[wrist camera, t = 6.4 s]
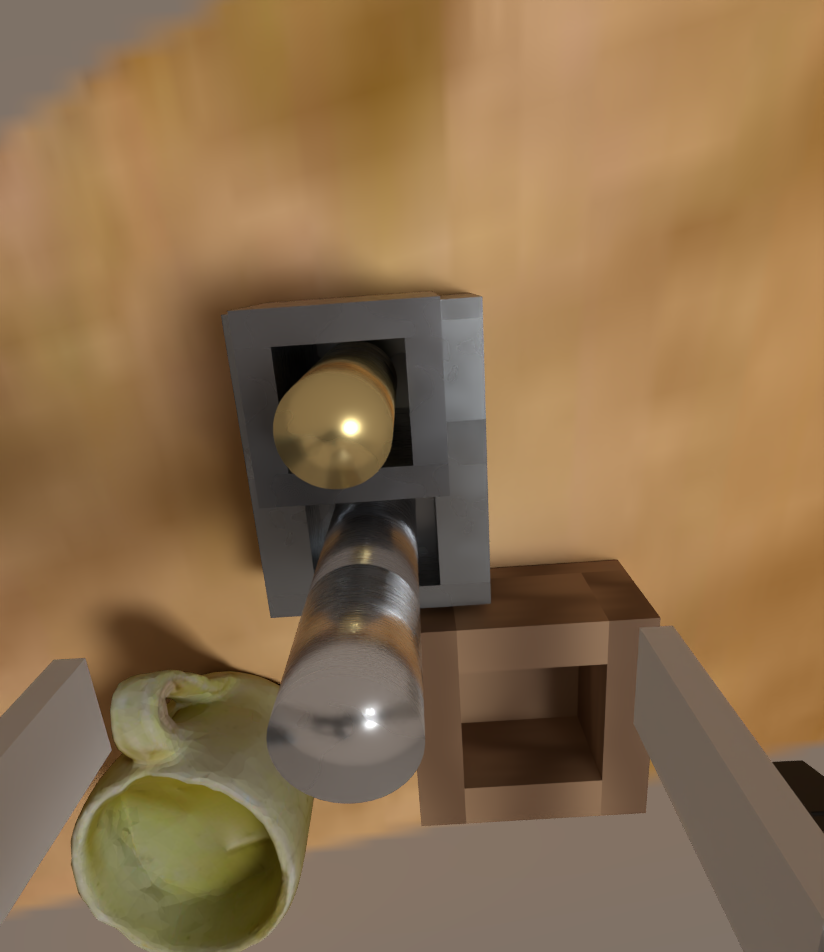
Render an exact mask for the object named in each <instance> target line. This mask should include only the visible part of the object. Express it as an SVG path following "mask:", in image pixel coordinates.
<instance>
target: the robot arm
mask: <svg viewBox="0 0 824 952" xmlns="http://www.w3.org/2000/svg"><path fill="white" fill-rule="evenodd" d="M633 724H634V726H635V728H636V730H637V732H638V734H639V736H640V738H641V740H642V742H643V744H644V747H645V749H646V751H647V753H648V755H649V757H650V759H651V761H652V763H653V765H654V767H655V769H656V771H657V773H658V776H659V778H660V780H661V782H662V784H663V786H664V788H665V790H666V792H667V794H668V796H669V798H670V800H671V802H672V805H673V806H674V809H675V811H676V813H677V815H678V817H679V819H680V821H681V823H682V825H683V827H684V829H685V831H686V833H687V836H688V837H689V840H690V842H691V844H692V846H693V848H694V850H695V852H696V854H697V856H698V858H699V860H700V862H701V864H702V867H703V869H704V871H705V873H706V875H707V877H708V879H709V881H710V883H711V885H712V887H713V889H714V892H715V894H716V896H717V898H718V900H719V902H720V904H721V906H722V908H723V910H724V912H725V914H726V916H727V919H728V920H729V923H730V925H731V927H732V929H733V931H734V933H735V935H736V937H737V939H738V941H739V943H740V945H741V948H742V949H743V952H824V776H823V775H821V774H820V773H818V772H817V771H816V770H815V769H813V768H812V767H811V766H809V765H808V764H806V763H805V762H804V761H782V762H771V760H770V759H769V757H768V756H767V755H766V753H765V752H764V751H763V749H762V748H761V746H760V745H759V744H758V742H757V741H756V740H755V738H754V737H753V735H752V734H751V733H750V731H749V730H748V729H747V727H746V726H745V724H744V723H743V722H742V720H741V719H740V718H739V716H738V715H737V713H736V712H735V711H734V709H733V708H732V707H731V705H730V704H729V702H728V701H727V700H726V698H725V697H724V696H723V694H722V693H721V691H720V690H719V689H718V687H717V686H716V685H715V683H714V682H713V680H712V679H711V678H710V676H709V675H708V674H707V672H706V671H705V669H704V668H703V667H702V665H701V664H700V662H699V661H698V660H697V658H696V657H695V656H694V654H693V653H692V651H691V650H690V649H689V647H688V646H687V645H686V643H685V642H684V640H683V639H682V638H681V636H680V635H679V634H678V632H677V631H676V629H675V628H674V627H673V626H661V627H643V628H640V631H639V646H638V661H637V677H636V692H635V707H634V723H633ZM111 750H112V749H111V746H110V742H109V739H108V735H107V732H106V728H105V725H104V721H103V718H102V715H101V711H100V708H99V704H98V701H97V697H96V694H95V690H94V687H93V683H92V680H91V676H90V673H89V670H88V666H87V663H86V659H85V658H79V659H60V660H53V661H52V662H51V663H50V664H49V665H48V667H47V668H46V669H45V670H44V671H43V672H42V673H41V674H40V675H39V676H38V677H37V678H36V679H35V681H34V682H33V683H32V684H31V685H30V686H29V687H28V688H27V689H26V690H25V691H24V692H23V693H22V695H21V696H20V697H19V698H18V699H17V700H16V701H15V702H14V703H13V704H12V705H11V706H10V707H9V709H8V710H7V711H6V712H5V713H4V714H3V715H2V716H1V717H0V926H1V924H2V923H3V921H4V920H5V918H6V916H7V915H8V913H9V912H10V910H11V909H12V907H13V905H14V904H15V902H16V901H17V899H18V897H19V896H20V894H21V893H22V891H23V890H24V888H25V886H26V885H27V883H28V882H29V880H30V878H31V877H32V875H33V874H34V872H35V871H36V869H37V867H38V866H39V864H40V863H41V861H42V860H43V858H44V856H45V855H46V853H47V852H48V850H49V848H50V847H51V845H52V844H53V842H54V841H55V839H56V837H57V836H58V834H59V833H60V831H61V830H62V828H63V826H64V825H65V823H66V822H67V820H68V818H69V817H70V815H71V814H72V812H73V811H74V809H75V807H76V806H77V804H78V803H79V801H80V799H81V798H82V796H83V795H84V793H85V792H86V790H87V788H88V787H89V785H90V784H91V782H92V781H93V779H94V777H95V776H96V774H97V773H98V771H99V769H100V768H101V766H102V765H103V763H104V762H105V760H106V758H107V757H108V755H109V754H110V752H111Z"/></svg>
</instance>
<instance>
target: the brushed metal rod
mask: <svg viewBox="0 0 824 952" xmlns="http://www.w3.org/2000/svg"><path fill="white" fill-rule="evenodd" d="M266 741H267V749H268V752H269V756H270V758H271V760H272V763H273V764H274V766H275V768H276V769H277V771H278V772H279V773H280V774H281V776H282V777H283V778H284V779H285V780H286V781H287V782H288V783H290V784H291V785H292V786H294V787H295V788H296V789H298V790H300V791H301V792H303V793H305V794H307V795H309V796H312V797H314V798H317V799H321V800H324V801H329V802H334V803H361V802H367V801H372V800H375V799H378V798H381V797H384V796H386V795H388V794H390V793H392V792H394V791H395V790H397V789H399V788H400V787H401V786H402V785H404V784H405V783H406V782H407V781H408V780H409V779H410V778H411V777H412V776H413V774H414V773H415V772H416V770H417V769H418V767H419V765H420V763H421V760H422V757H423V754H424V749H425V723H424V698H423V673H422V649H421V624H420V599H419V574H418V549H417V525H416V501H415V498H411V499H396V500H381V501H366V502H351V503H336V505H335V508H334V511H333V515H332V518H331V521H330V524H329V528H328V531H327V534H326V537H325V541H324V544H323V547H322V550H321V554H320V557H319V560H318V563H317V567H316V570H315V573H314V576H313V580H312V583H311V586H310V589H309V593H308V596H307V599H306V602H305V606H304V609H303V612H302V616H301V619H300V622H299V625H298V629H297V632H296V635H295V638H294V642H293V645H292V648H291V651H290V655H289V658H288V661H287V664H286V668H285V671H284V674H283V677H282V681H281V684H280V687H279V690H278V694H277V697H276V700H275V703H274V707H273V710H272V713H271V716H270V720H269V723H268V728H267V736H266Z"/></svg>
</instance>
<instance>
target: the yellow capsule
mask: <svg viewBox="0 0 824 952" xmlns="http://www.w3.org/2000/svg"><path fill="white" fill-rule="evenodd" d="M396 392H397V375H396V371H395V368H394V365H393V363H392V362H391V360H390V358H389V357H388V356H387V355H386V354H385V353H384V352H383V351H382V350H381V349H380V348H378V347H377V346H375V345H373V344H371V343H368V342H364V341H350V342H343V343H341V344H338V345H336V346H335V347H333V348H332V349H330V350H329V351H328V352H327V353H326V354H325V355H324V356H323V357H322V358H321V359H320V360H319V361H318V362H317V363H316V364H315V365H314V366H313V367H312V368H311V369H310V370H309V371H308V372H307V373H306V374H305V375H304V376H303V377H302V378H301V379H300V380H299V381H298V382H297V383H296V384H295V385H294V386H293V387H292V388H291V389H290V390H289V391H288V392H287V393H286V394H285V395H284V397H283V398H282V400H281V401H280V403H279V405H278V407H277V410H276V413H275V416H274V421H273V437H274V442H275V446H276V448H277V451H278V453H279V455H280V457H281V459H282V461H283V462H284V463H285V465H286V466H287V467H288V468H289V469H290V471H291V472H293V473H294V474H295V475H296V476H297V477H299V478H300V479H302V480H303V481H305V482H307V483H309V484H311V485H314V486H317V487H321V488H326V489H345V488H350V487H353V486H356V485H359V484H361V483H363V482H365V481H367V480H368V479H369V478H371V477H372V476H373V475H374V474H376V473H377V472H378V471H379V469H380V468H381V467H382V466H383V464H384V462H385V461H386V459H387V457H388V455H389V452H390V449H391V445H392V438H393V427H394V416H395V404H396Z"/></svg>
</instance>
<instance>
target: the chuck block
mask: <svg viewBox="0 0 824 952" xmlns="http://www.w3.org/2000/svg"><path fill="white" fill-rule="evenodd" d="M227 312H228V314H223V315H221V318H222V324H223V330H224V336H225V342H226V348H227V354H228V360H229V367H230V373H231V379H232V385H233V391H234V397H235V403H236V409H237V415H238V421H239V427H240V433H241V440H242V446H243V452H244V458H245V464H246V470H247V476H248V482H249V488H250V494H251V500H252V506H253V513H254V519H255V525H256V531H257V537H258V543H259V549H260V555H261V561H262V567H263V573H264V580H265V586H266V592H267V598H268V604H269V610H270V616H271V618H276V617H292V616H302V612H303V609H304V606H305V602H306V599H307V596H308V593H309V589H310V586H311V583H312V580H313V576H314V573H315V570H316V567H317V563H318V560H319V557H320V554H321V550H322V547H323V544H324V541H325V537H326V534H327V531H328V528H329V524H330V521H331V518H332V515H333V511H334V508H335V505H336V503H351V502H366V501H381V500H396V499H411V498H415V501H416V525H417V549H418V574H419V599H420V608H434V607H449V606H465V605H481V604H491V588H490V552H489V517H488V482H487V446H486V411H485V376H484V340H483V305H482V296H479V295H475V294H472V293H464V294H449V295H438V294H436V293H435V292H433V291H424V292H410V293H396V294H382V295H367V296H353V297H339V298H325V299H311V300H297V301H282V302H269V303H264V304H259V305H254V306H249V307H245V308H240V309H235V310H230V311H227ZM350 341H364V342H368V343H371V344H373V345H375V346H377V347H378V348H380V349H381V350H382V351H383V352H384V353H385V354H386V355H387V356H388V357H389V358H390V360H391V362H392V363H393V365H394V368H395V371H396V375H397V392H396V404H395V416H394V427H393V438H392V445H391V449H390V452H389V455H388V457H387V459H386V461H385V462H384V464H383V466H382V467H381V468H380V469H379V471H378V472H377V473H376V474H374V475H373V476H372V477H371V478H369V479H368V480H367V481H365V482H363V483H361V484H359V485H356V486H353V487H350V488H345V489H326V488H321V487H317V486H314V485H311V484H309V483H307V482H305V481H303V480H302V479H300V478H299V477H297V476H296V475H295V474H294V473H293V472H291V471H290V469H289V468H288V467H287V466H286V465H285V463H284V462H283V461H282V459H281V457H280V455H279V453H278V451H277V448H276V446H275V442H274V437H273V421H274V416H275V413H276V410H277V407H278V405H279V403H280V401H281V400H282V398H283V397H284V395H285V394H286V393H287V392H288V391H289V390H290V389H291V388H292V387H293V386H294V385H295V384H296V383H297V382H298V381H299V380H300V379H301V378H302V377H303V376H304V375H305V374H306V373H307V372H308V371H309V370H310V369H311V368H312V367H313V366H314V365H315V364H316V363H317V362H318V361H319V360H320V359H321V358H322V357H323V356H324V355H325V354H326V353H327V352H328V351H329V350H330V349H332V348H333V347H335V346H336V345H338V344H341V343H343V342H350Z"/></svg>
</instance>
